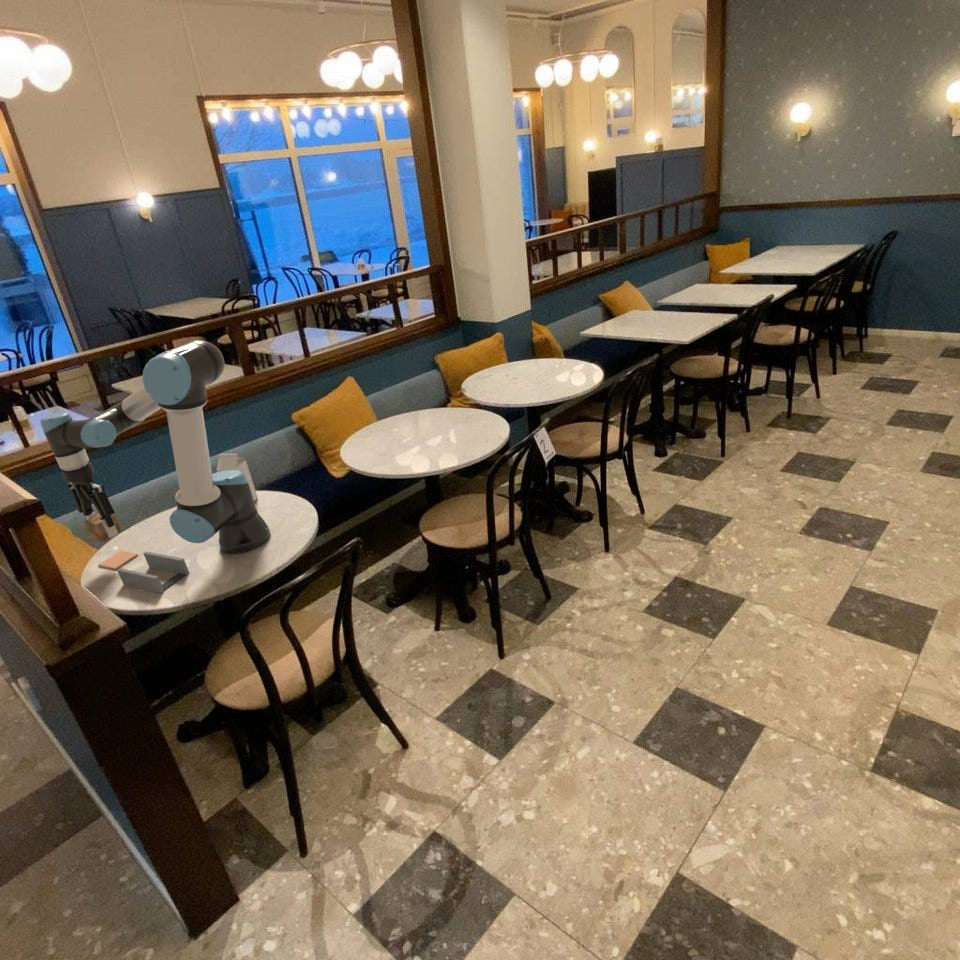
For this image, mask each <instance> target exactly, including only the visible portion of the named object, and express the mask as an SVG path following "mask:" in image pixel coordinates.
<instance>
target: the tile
mask: <svg viewBox="0 0 960 960" xmlns="http://www.w3.org/2000/svg"><path fill="white" fill-rule="evenodd" d="M138 556H139V554H138V553H135V552H129V551H125V550H119V551H118V552H116V553H114V554H113V555H111V556H109V557H108V558H107V559H105V560H103V561H102V562H100V563H98V564H97V565H98V567H101V568H106V569H110V570H114V571H117V570H118V569H120V568H121V567H122V566H125V565H126V564H127V563H130V562H131V561H132V560H134V559H135V558H137V557H138ZM116 569H117V570H116Z"/></svg>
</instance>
